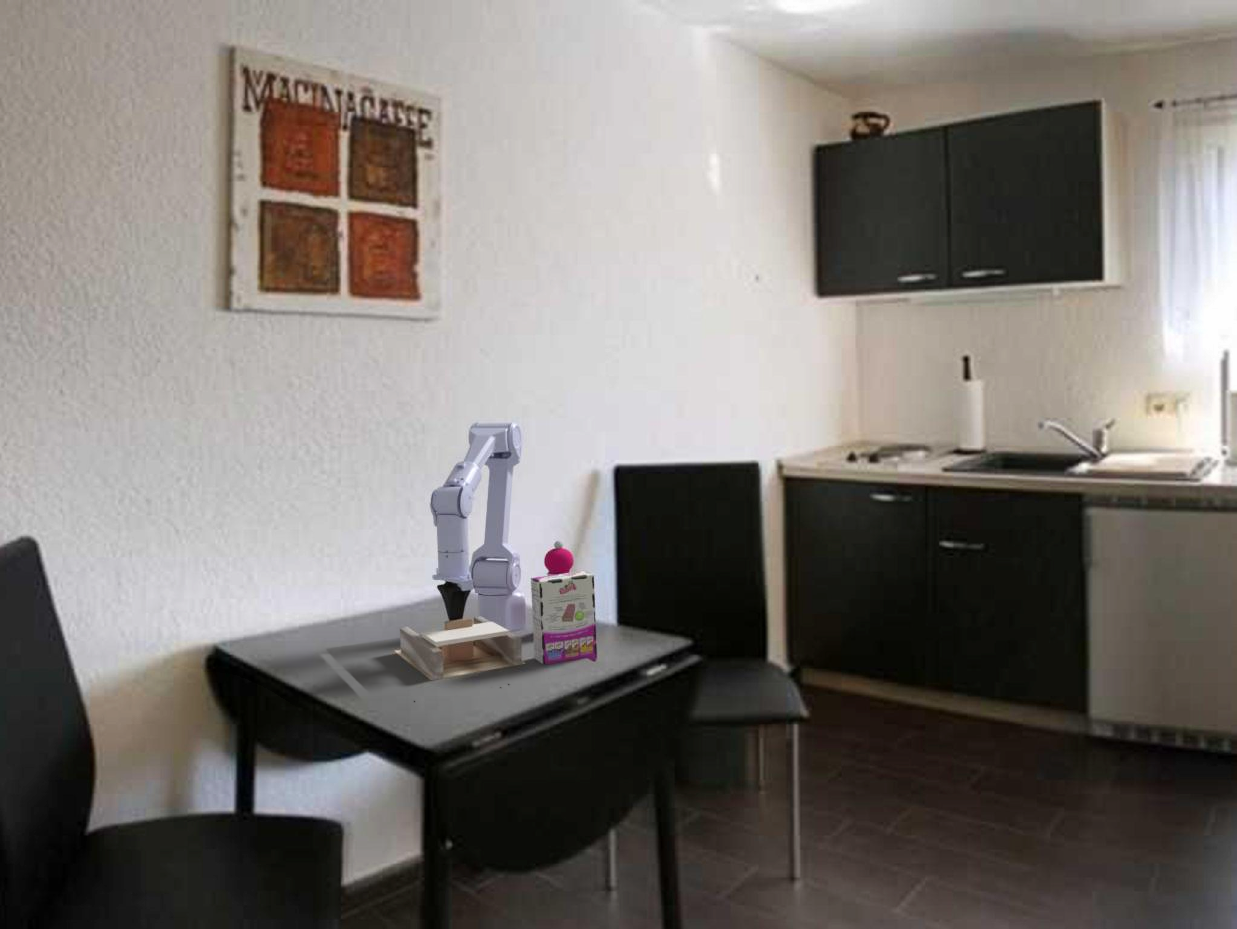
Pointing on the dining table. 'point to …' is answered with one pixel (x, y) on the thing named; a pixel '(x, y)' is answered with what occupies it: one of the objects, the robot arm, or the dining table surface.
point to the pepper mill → (558, 560)
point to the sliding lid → (463, 632)
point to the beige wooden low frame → (437, 666)
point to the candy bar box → (564, 617)
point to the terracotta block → (458, 651)
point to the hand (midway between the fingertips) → (455, 621)
